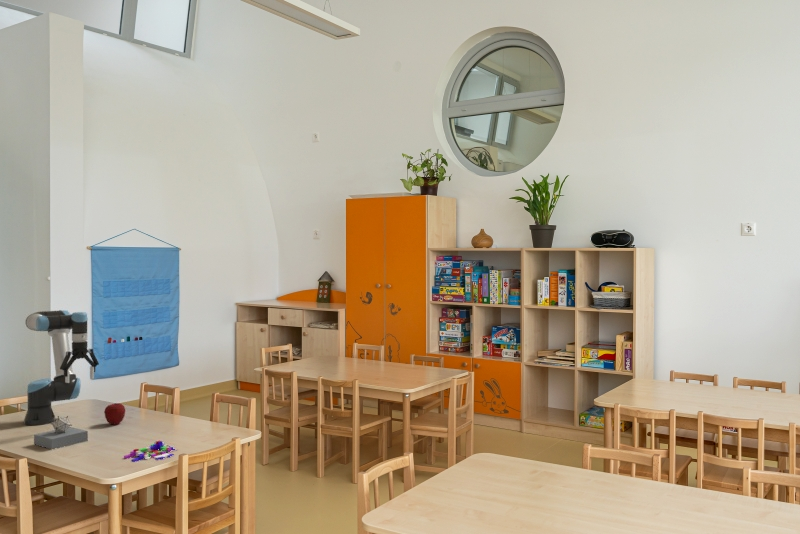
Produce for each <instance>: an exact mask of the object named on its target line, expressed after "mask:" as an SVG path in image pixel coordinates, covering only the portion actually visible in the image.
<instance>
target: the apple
mask: <svg viewBox="0 0 800 534" xmlns="http://www.w3.org/2000/svg"><path fill="white" fill-rule="evenodd" d="M125 414H126V408H125V405H124V404H122V403H117V402H116V403H112V404H109V405H107V406H106V407H105V409H104V417H105V419H106V421H107V423H109V424H110V425H120V423H121V422H123V420H124V418H125Z"/></svg>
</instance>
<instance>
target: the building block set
mask: <svg viewBox="0 0 800 534" xmlns="http://www.w3.org/2000/svg"><path fill="white" fill-rule="evenodd" d="M166 445H167V444H165V442H164V441H162V440H158V439H157V440H155V441H154V442H153V443H151V444H150V446H147V447H142V448H135V449H133V450H131V451H130V452H129V454H126V455H123V459H125V460H127V458H128V459H131V458H130V457H132V459H131V462H135V461H136V462H140V461H142V460H145V459H149V460H151V459H152V457H155V458H154V459H155V460H156V459H160V460H164V459H163V458H165V457H167V458H168V457H169V458H171V457H170V456H172V455H174V456H175V454H173V453H171V452H170V451H171V450H175V449H173V447H169V446H167V447H165V446H166ZM158 449H159V450H162V451H159V450H158ZM151 451H152V452H151ZM147 452H150V453H147ZM153 452H154V453H153ZM166 452H170V453H166ZM157 454H160V455H157ZM161 454H162V455H161ZM156 455H157V456H156ZM134 456H135V457H136V456H139V457H136V458H135V457H134ZM150 456H151V457H150ZM172 457H173V456H172ZM143 458H145V459H143ZM150 458H151V459H150ZM141 459H142V460H141ZM165 459H166V458H165ZM139 460H140V461H139Z"/></svg>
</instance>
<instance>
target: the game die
mask: <svg viewBox="0 0 800 534" xmlns="http://www.w3.org/2000/svg"><path fill="white" fill-rule="evenodd" d="M68 417H69V415H66V417H65V416H63V417H62V416H59V415H57V418H55V421H54V422H51V423H50V425H51V426H52V427H53V430H55V431H56V432H64V433H65V431H66V430H67V429H68V427H73V424H71V423H70V421H69V419H68ZM56 432H55V433H56Z"/></svg>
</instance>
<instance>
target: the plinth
mask: <svg viewBox="0 0 800 534" xmlns="http://www.w3.org/2000/svg"><path fill="white" fill-rule="evenodd" d="M55 432H56V431H55V429H53V430H49V431H45V432H39V433H35V434H33V445H34V444H36V445H35V446H37V445H40V446H43V447H42V448H44V447H46V448H45V449H48V448H49V449H48V450H51V449H53V450H56V449H55V448H57V449H60V447H61V448H64V446H65V447H68V446H71V445H77V444H80V443H85V442H88V440H89V436H88V435H89V433H88V430H86V429H81V428H78V427H73V426H69V427H68V429H67V430H66V431H65V433H64V432H56V433H55ZM40 446H39V447H40Z"/></svg>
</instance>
